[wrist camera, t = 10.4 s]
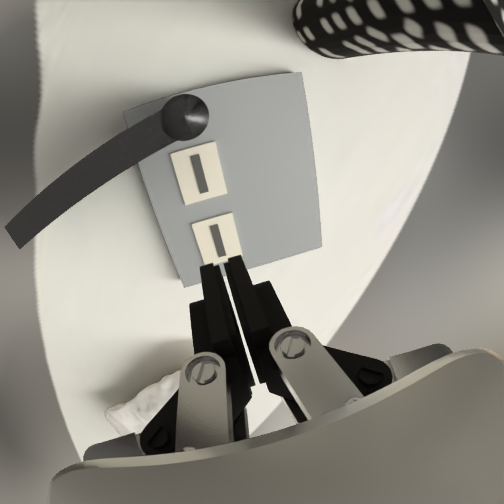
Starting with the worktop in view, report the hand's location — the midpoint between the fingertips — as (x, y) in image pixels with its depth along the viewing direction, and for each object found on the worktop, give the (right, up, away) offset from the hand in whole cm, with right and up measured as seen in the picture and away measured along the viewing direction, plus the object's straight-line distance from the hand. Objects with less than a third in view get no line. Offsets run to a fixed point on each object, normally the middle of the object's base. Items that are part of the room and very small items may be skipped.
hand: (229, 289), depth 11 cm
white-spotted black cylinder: (+9, +24, +9) cm, 27 cm away
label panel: (-1, +8, +15) cm, 18 cm away
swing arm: (-11, +9, +8) cm, 16 cm away
